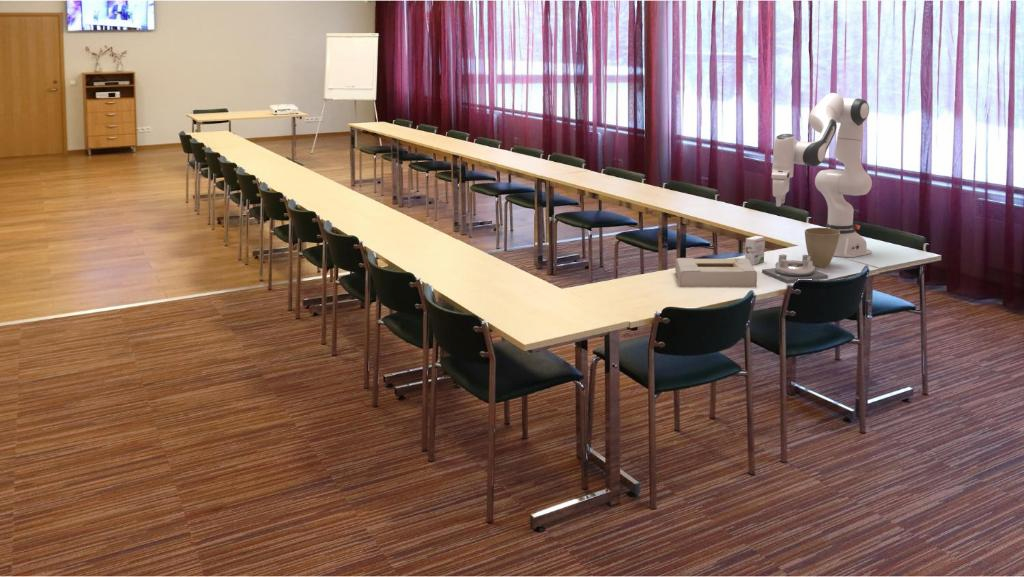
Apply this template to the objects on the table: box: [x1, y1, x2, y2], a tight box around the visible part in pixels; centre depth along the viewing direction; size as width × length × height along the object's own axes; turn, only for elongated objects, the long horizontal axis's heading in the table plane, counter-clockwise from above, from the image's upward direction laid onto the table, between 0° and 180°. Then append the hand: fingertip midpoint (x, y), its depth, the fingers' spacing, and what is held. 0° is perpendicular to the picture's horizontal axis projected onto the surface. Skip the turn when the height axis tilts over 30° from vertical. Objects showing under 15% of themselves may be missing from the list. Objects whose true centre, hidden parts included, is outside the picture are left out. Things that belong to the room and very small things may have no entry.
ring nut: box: [775, 253, 816, 276], centre depth 409 cm, size 16×16×6 cm
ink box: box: [744, 235, 766, 266], centre depth 432 cm, size 8×5×12 cm, turn 131°
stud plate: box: [761, 267, 829, 284], centre depth 410 cm, size 20×19×2 cm
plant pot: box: [804, 227, 840, 269], centre depth 423 cm, size 15×15×16 cm
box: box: [674, 257, 758, 288], centre depth 406 cm, size 23×8×32 cm
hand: (780, 204), depth 411 cm, fingers open, 8 cm apart
